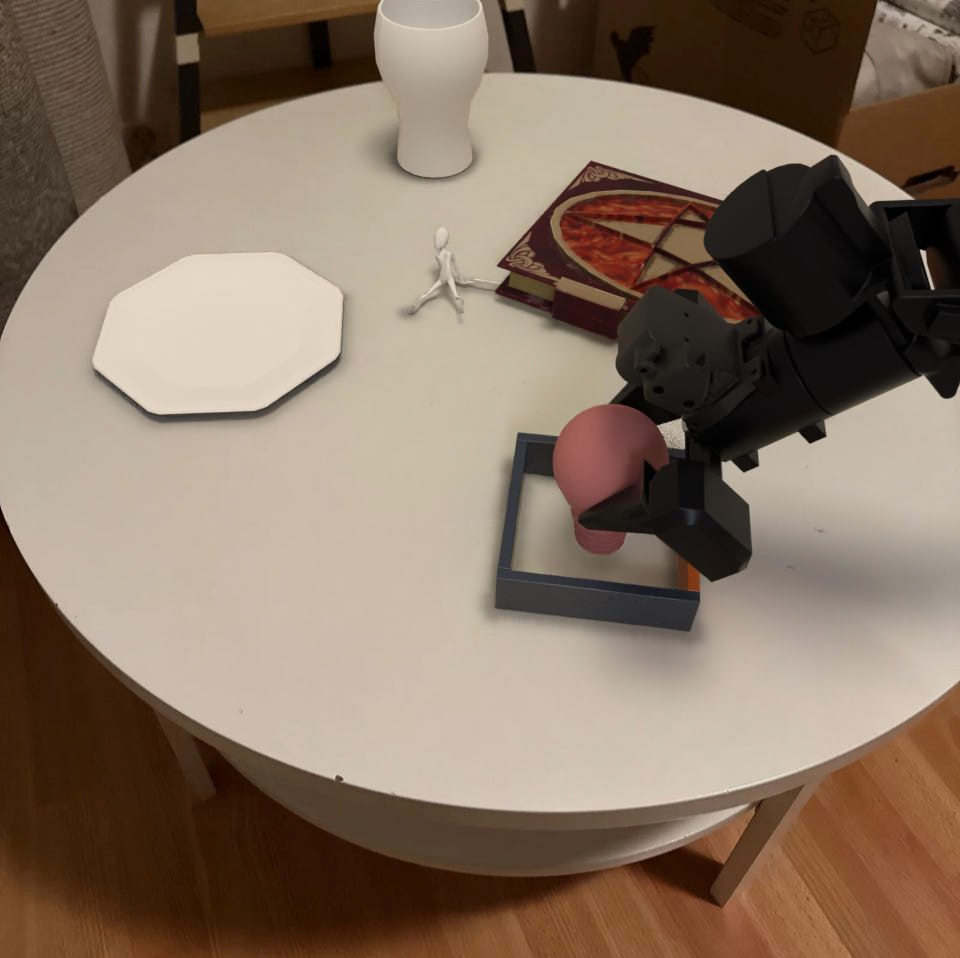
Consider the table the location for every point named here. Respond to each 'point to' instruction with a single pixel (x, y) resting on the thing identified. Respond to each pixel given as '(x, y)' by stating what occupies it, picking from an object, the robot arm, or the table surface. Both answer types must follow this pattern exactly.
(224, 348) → the plate
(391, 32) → the cup
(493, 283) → the action figure
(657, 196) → the book
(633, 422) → the pink screw bulb
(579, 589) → the square frame
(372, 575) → the table surface
